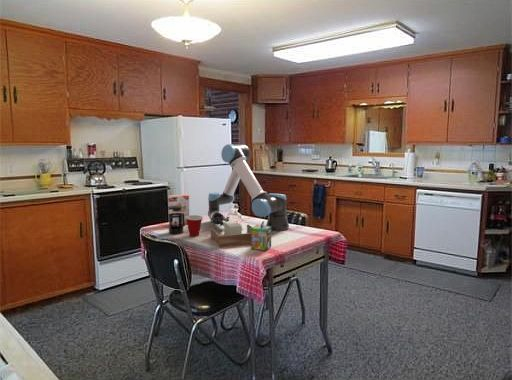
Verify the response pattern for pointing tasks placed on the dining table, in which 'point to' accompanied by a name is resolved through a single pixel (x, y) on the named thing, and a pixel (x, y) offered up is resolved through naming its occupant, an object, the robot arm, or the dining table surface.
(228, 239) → the box
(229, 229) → the tile block
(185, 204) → the cracker box
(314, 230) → the dining table surface
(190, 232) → the plastic cup
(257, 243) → the chalk box
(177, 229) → the french press
